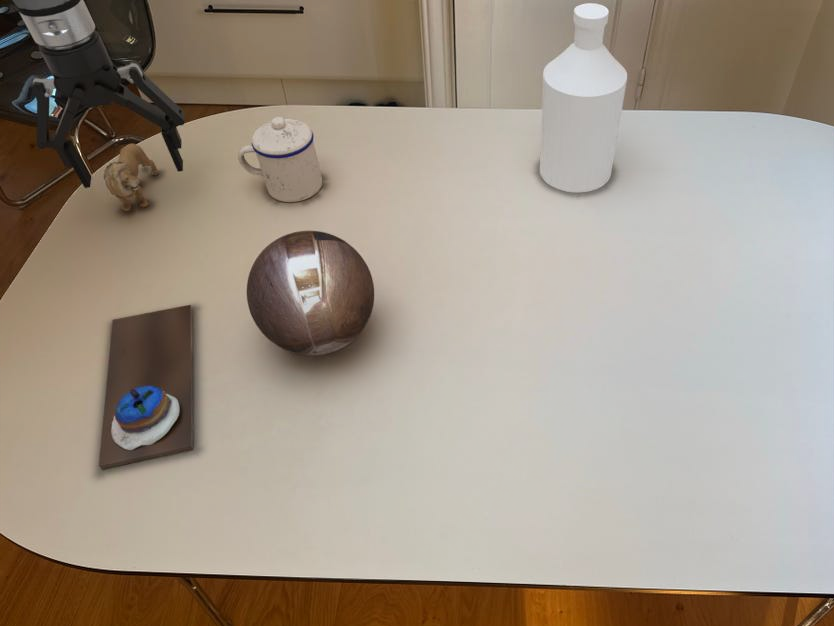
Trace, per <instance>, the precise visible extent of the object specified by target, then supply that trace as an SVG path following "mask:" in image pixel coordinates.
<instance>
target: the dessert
mask: <svg viewBox="0 0 834 626" xmlns="http://www.w3.org/2000/svg"><path fill="white" fill-rule="evenodd" d="M154 387H156V386H142V387H138V388H135V389H131V390H130V392H128V393H127V394H125V395H124V396H123V397H122V398H121V399H120V400H119V402H118V404H117V405H116V409H115V416H114V420H113V422H112V428H111V433H112V438H113V440H114V441H115V442H116V443H117V444H118V445H119V446H121V447H123V448H124V449H127V450H133V449H135V448H137V447H139V446H141V445H151V444H153V443H155V442H156V441H157V440H159V439H160V438H162V437H163V436H164V435H165V434H166V433H167V432H168V431H169V429H170V428H171V426H172V425H173V424H174V422H175V421H176V420H177V418H178V416H179V412H180V411H179V403H178V400H177V399H176V398H175V397H173V396H171V395H169V394H165V392H164V391H162V390H161V389H162V388H161V389H160V390H159V388H154Z"/></svg>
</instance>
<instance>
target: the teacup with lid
mask: <svg viewBox="0 0 834 626" xmlns="http://www.w3.org/2000/svg"><path fill="white" fill-rule="evenodd" d="M314 137H315V136H314V132H313V130H312V129H311V127H310V126H309V125H308V124H307V123H305V122H303V121H301V120H298V119H292V118H283V117H282V116H275V117H274V118H273V117H272V119H271V121H269V122H267V123H264V124H262V125H261V126H259V127H258V128H257V129H256V130H255V132H254V133H253V135H252V137H251V144H249V145H244V146H242V147H241V148H240V149H239V151H238V153H237V158H238V162H239V165H240V166H241V168H243V169H244V171H246V172H248V173H249V174H251V175H253V176H258V177H259V176H260V177H262V178H263V181H264V183H265V187H266V190H267V192H268V194H269V195H270V197H272V198H273V199H275V200H277V201H279V202H284V203H297V202H301V201H304V200H307V199H309V198H311V197H313V196H314V195H316V194H317V193H318V192H319V191H320V190H321V188H322V186H323V177H322V172H321V168H320V164H319V160H318V155H317V151H316V146H315V142H314ZM248 153H255V154H256V157H257V162H258V164H259V168H257V167H255V166H253V165H251V164H250V163H249V162H248V161H247V160H246V158H245V154H248Z"/></svg>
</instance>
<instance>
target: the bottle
mask: <svg viewBox="0 0 834 626" xmlns="http://www.w3.org/2000/svg"><path fill="white" fill-rule="evenodd" d="M609 14H610V11H609V8H607V7H606V6H605V5H603V4H600V3H595V2H594V3H593V2H589V3H587V2H586V3H582V4H579V5H577V6H575V7H574V9H573V23H574V41H572V43H571V44H570V45H568V47H567V48H565V50H564V51H562V52H561V53H560V54H559V55H558V56H556V57H555V58H554V59H553V60H551V61H550V62H548V63H547V64H546V66H544V69H543V71H542V94H541V123H540V124H541V125H540V152H539V158H540V159H539V174H540V177H541V178H542V180H543V181H544V182H545V183H546V184H547V185H548V186H550V187H553V188H554V189H556V190H559V191H562V192H567V193H576V194H577V193H578V194H579V193H588V192H594V191H595V190H598V189H600V188H602V187H603V186H605V185H606V184H607V183H608V181H609V180H610V179H611V176H612V171H613V165H614V158H615V153H616V147H617V142H618V137H619V136H618V135H619V128H620V123H621V118H622V112H623V106H624V100H625V95H626V88H627V81H628V73H627V70H626V69H625V68H624V66H623V65H622V64H621V63H620V62H619V61H618V60H617V59H616V58H615V57H614V56H613V55H612V53H611V52H610V51H609V49H608V48H607V47H606V46H605V44H604V43H603V41H604V34H605V28H606V26H607V25H608V22H609Z"/></svg>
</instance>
